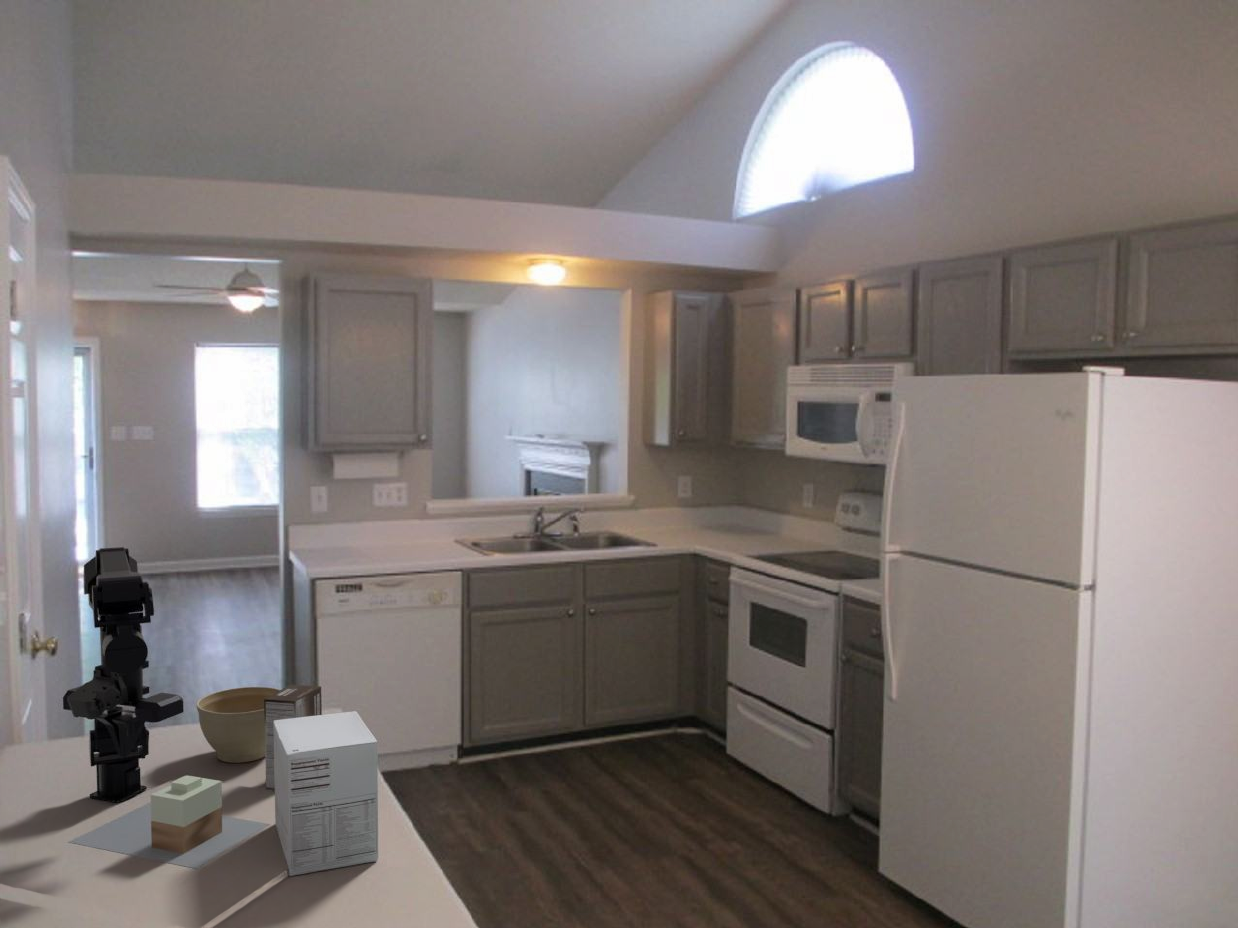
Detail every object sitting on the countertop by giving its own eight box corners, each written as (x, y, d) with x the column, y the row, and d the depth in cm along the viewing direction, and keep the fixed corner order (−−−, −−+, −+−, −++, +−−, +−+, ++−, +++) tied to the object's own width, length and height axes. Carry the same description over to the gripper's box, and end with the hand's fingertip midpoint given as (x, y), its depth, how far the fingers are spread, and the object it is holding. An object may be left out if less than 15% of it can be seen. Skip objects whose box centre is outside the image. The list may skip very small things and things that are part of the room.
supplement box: (381, 861, 151) (380, 741, 150) (287, 878, 145) (285, 754, 144) (358, 817, 167) (357, 708, 165) (273, 831, 161) (271, 718, 160)
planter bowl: (178, 763, 189) (177, 706, 189) (239, 736, 204) (238, 682, 204) (249, 775, 184) (248, 716, 183) (306, 746, 199) (305, 691, 198)
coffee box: (291, 769, 187) (290, 683, 186) (323, 772, 186) (322, 685, 185) (264, 788, 178) (263, 697, 177) (298, 791, 177) (296, 700, 176)
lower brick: (183, 853, 150) (182, 819, 150) (151, 847, 152) (150, 813, 152) (222, 831, 158) (221, 799, 157) (191, 825, 160) (190, 793, 159)
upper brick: (183, 826, 150) (182, 792, 149) (151, 820, 152) (150, 786, 152) (222, 806, 157) (221, 773, 157) (190, 800, 159) (190, 768, 159)
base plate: (68, 849, 154) (68, 841, 154) (150, 809, 169) (150, 801, 169) (196, 876, 146) (196, 868, 145) (270, 831, 161) (270, 824, 160)
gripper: (30, 664, 153) (33, 766, 154) (127, 677, 146) (130, 783, 147) (91, 646, 163) (94, 742, 164) (185, 658, 157) (187, 757, 158)
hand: (124, 756), depth 158 cm, fingers closed
